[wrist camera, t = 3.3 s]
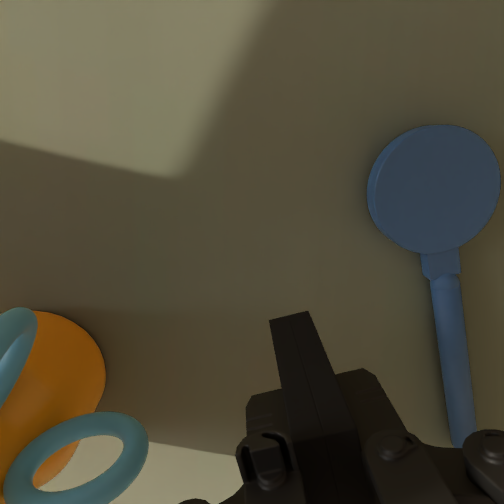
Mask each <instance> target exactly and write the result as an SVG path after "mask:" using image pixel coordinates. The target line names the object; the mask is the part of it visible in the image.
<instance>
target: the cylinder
mask: <svg viewBox="0 0 504 504" xmlns="http://www.w3.org/2000/svg"><path fill="white" fill-rule="evenodd" d="M105 383H106V370H105V364H104V359H103V357H102V354H101V351H100V349H99V348H98V346H97V345H96V343H95V341H94V340H93V339H92V337H91V336H89V335H88V333H87V332H86V331H85V330H84V329H82V328H81V327H79V326H78V325H77V324H76V323H74V322H72V321H70V320H68V319H66V318H64V317H62V316H59V315H55V314H53V313H49V312H41V311H31V310H30V309H28V308H25V307H16V308H12V309H10V310H8V311H6V312H4V313H3V314H2V315H0V504H108V503H110V502H111V501H112V500H114V499H115V498H116V497H118V496H119V495H120V494H121V493H122V492H123V491H125V490H126V489H127V488H128V487H129V485H130V484H131V483H132V482H133V481H134V480H135V478H136V477H137V476H138V474H139V473H140V471H141V469H142V467H143V465H144V463H145V461H146V458H147V454H148V446H149V443H148V436H147V433H146V431H145V429H144V427H143V426H142V425H141V423H140V422H139V421H137V420H136V419H135V418H133V417H131V416H129V415H127V414H123V413H119V412H94V411H95V409H96V407H97V405H98V403H99V401H100V399H101V397H102V394H103V391H104V388H105ZM97 435H110V436H115V437H117V438H119V439H121V440H122V442H123V444H124V448H123V451H122V453H121V455H120V457H119V458H118V459H117V461H116V462H115V463H114V464H113V465H112V466H111V467H110V468H109V469H108V470H106V471H105V472H104V473H102V474H101V475H100V476H98V477H97V478H95V479H93V480H91V481H89V482H87V483H85V484H83V485H81V486H78V487H75V488H72V489H69V490H64V491H58V492H45V491H41V490H38V488H40V487H41V486H43V485H44V484H46V483H47V482H49V481H50V480H52V479H53V478H54V477H55V476H57V475H58V474H59V473H60V472H61V471H62V469H63V468H64V467H65V466H66V465H67V463H68V462H69V461H70V459H71V457H72V456H73V454H74V452H75V450H76V448H77V446H78V444H79V442H80V440H81V439H83V438H87V437H91V436H97Z"/></svg>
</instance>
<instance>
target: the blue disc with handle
mask: <svg viewBox="0 0 504 504" xmlns="http://www.w3.org/2000/svg"><path fill="white" fill-rule="evenodd" d="M500 187H501V175H500V169H499V165H498V162H497V159H496V157H495V155H494V153H493V151H492V150H491V148H490V147H489V145H488V144H487V143H486V142H485V141H484V140H483V139H482V138H481V137H480V136H478V135H477V134H475V133H474V132H472V131H470V130H468V129H465V128H463V127H459V126H454V125H427V126H421V127H418V128H414V129H411V130H409V131H407V132H405V133H403V134H402V135H400V136H398V137H397V138H395V139H394V140H393V141H392V142H391V143H389V144H388V145H387V147H386V148H385V149H384V150H383V151H382V152H381V154H380V155H379V156H378V158H377V160H376V161H375V163H374V165H373V167H372V170H371V172H370V176H369V179H368V185H367V204H368V208H369V212H370V215H371V217H372V219H373V221H374V223H375V225H376V226H377V227H378V229H379V230H380V231H381V232H382V233H383V234H384V235H385V236H386V237H387V238H389V239H390V240H392V241H393V242H394V243H396V244H397V245H399V246H401V247H402V248H404V249H407V250H409V251H412V252H416V253H420V258H421V265H422V272H423V275H424V276H425V277H426V278H428V279H429V280H431V281H430V288H431V295H432V302H433V310H434V317H435V325H436V332H437V340H438V347H439V354H440V362H441V369H442V377H443V384H444V391H445V399H446V406H447V414H448V421H449V429H450V436H451V442H452V445H453V446H454V448H462V445H463V443H464V440H465V438H466V437H468V436H469V435H470V434H472V433H473V432H477V427H476V419H475V410H474V401H473V392H472V383H471V375H470V366H469V357H468V348H467V339H466V331H465V322H464V313H463V304H462V296H461V287H460V281H459V279H458V277H457V276H456V275H455V274H459V273H461V266H460V257H459V248H458V247H460V246H461V245H463V244H465V243H467V242H468V241H469V240H471V239H472V238H473V237H475V236H476V235H477V234H478V233H479V232H480V231H481V230H482V229H483V227H484V226H485V225H486V224H487V222H488V221H489V219H490V218H491V216H492V214H493V212H494V210H495V208H496V205H497V202H498V199H499V195H500Z"/></svg>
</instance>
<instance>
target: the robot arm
mask: <svg viewBox="0 0 504 504" xmlns="http://www.w3.org/2000/svg"><path fill="white" fill-rule="evenodd" d="M269 323H270V329H271V334H272V339H273V345H274V350H275V355H276V360H277V366H278V371H279V376H280V382H281V387H282V389H278V390H273V391H269V392H265V393H261V394H257V395H252V396H251V398H250V400H249V402H248V404H247V406H246V421H247V422H246V428H247V436H246V437H245V438H244V439H243V440H242V441H241V442H240V444H239V445H238V446H237V450H236V454H235V456H236V460H237V463H238V466H239V469H240V473H241V476H242V479H243V482H244V484H243V485H242V487H241V488H240V489H239V490H238V491H237V492H236V493H235V494H234V495H233V496H231V497H229V498H228V499H226V500H225V501H223V502H221V503H219V504H504V431H501V430H487V429H484V430H480V431H477V432H473V433H472V434H470V435H469V436H468V437H466V438H465V440H464V443H463V445H462V448H442V447H434V446H430V445H427V444H424V443H422V442H421V441H420V440H419V439H418V438H417V437H416V436H415V435H413V434H411V433H409V432H408V431H407V430H406V428H405V426H404V424H403V423H402V421H401V419H400V418H399V416H398V414H397V412H396V411H395V409H394V407H393V405H392V404H391V402H390V400H389V399H388V397H387V395H386V393H385V392H384V390H383V388H382V387H381V385H380V383H379V381H378V380H377V378H376V376H375V375H373V374H372V373H370V372H369V371H367V370H366V369H364V368H361V369H357V370H353V371H348V372H344V373H340V374H336V375H335V374H334V371H333V369H332V366H331V364H330V362H329V359H328V357H327V354H326V352H325V350H324V347H323V345H322V342H321V340H320V338H319V335H318V333H317V330H316V328H315V326H314V323H313V321H312V318H311V316H310V314H309V311H305V312H301V313H296V314H292V315H288V316H284V317H280V318H276V319H272V320H269ZM179 504H210V503H208V502H207V501H206V500H202V499H196V498H195V499H190V500H185V501H183V502H181V503H179Z"/></svg>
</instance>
